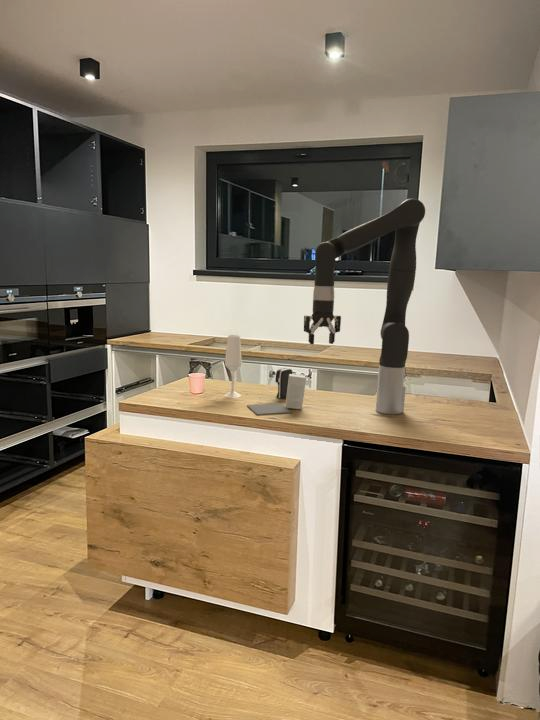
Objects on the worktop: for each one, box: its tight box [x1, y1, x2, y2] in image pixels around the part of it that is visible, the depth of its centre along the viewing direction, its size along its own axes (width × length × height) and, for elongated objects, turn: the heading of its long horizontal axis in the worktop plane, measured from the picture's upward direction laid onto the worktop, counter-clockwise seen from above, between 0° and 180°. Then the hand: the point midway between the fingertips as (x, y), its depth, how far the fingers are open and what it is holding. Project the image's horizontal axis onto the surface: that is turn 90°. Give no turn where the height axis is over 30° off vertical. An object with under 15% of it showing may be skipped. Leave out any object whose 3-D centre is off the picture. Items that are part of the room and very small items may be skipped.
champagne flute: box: [224, 334, 243, 399], centre depth 205 cm, size 7×7×24 cm
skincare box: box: [284, 373, 307, 410], centre depth 191 cm, size 6×4×12 cm
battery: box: [275, 367, 293, 399], centre depth 207 cm, size 7×4×11 cm, turn 139°
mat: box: [246, 402, 293, 416], centre depth 189 cm, size 13×12×1 cm
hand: (321, 343), depth 192 cm, fingers open, 7 cm apart
